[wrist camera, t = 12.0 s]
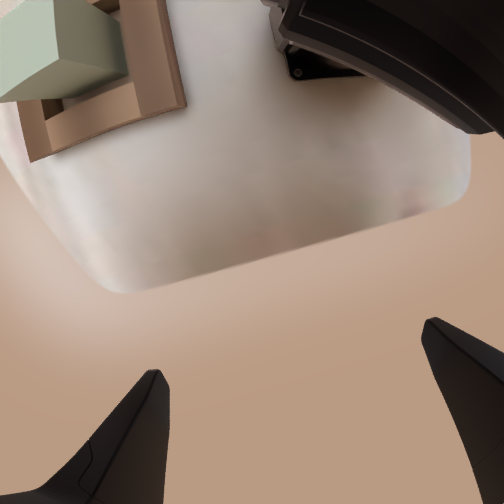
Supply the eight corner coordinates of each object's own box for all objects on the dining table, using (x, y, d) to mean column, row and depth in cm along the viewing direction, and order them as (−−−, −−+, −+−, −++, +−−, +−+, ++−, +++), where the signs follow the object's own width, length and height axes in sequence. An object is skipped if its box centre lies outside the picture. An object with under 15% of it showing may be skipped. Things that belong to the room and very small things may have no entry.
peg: (119, 21, 13) (52, -18, 5) (129, 75, 14) (58, 58, 7) (66, 46, 13) (-14, 31, 6) (75, 98, 15) (-9, 104, 7)
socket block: (160, -26, 12) (148, -44, 9) (187, 106, 16) (177, 105, 13) (33, 34, 12) (9, 29, 9) (54, 154, 16) (30, 162, 14)
